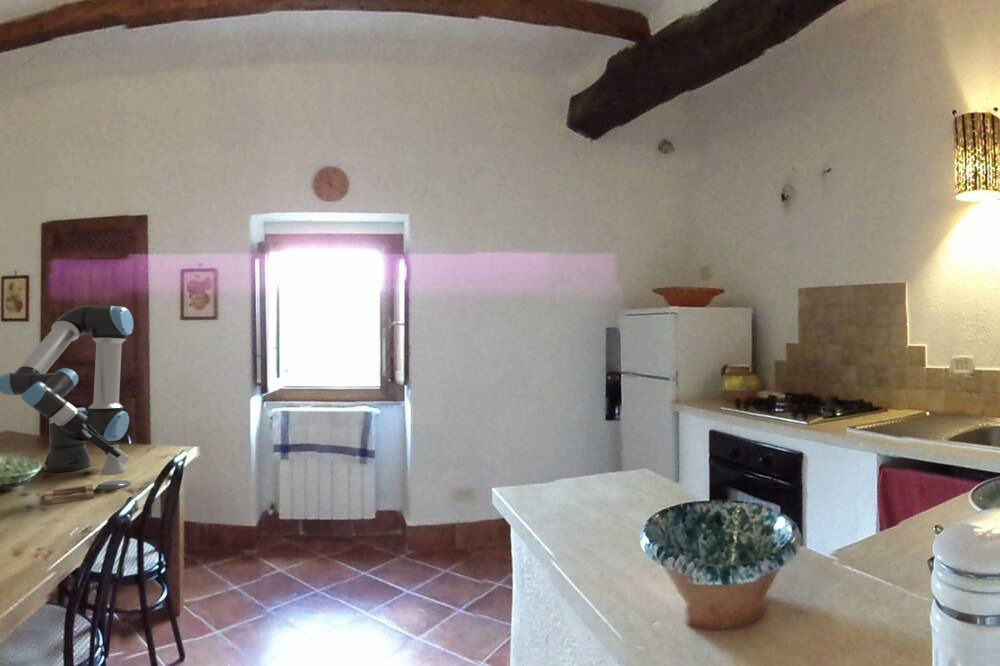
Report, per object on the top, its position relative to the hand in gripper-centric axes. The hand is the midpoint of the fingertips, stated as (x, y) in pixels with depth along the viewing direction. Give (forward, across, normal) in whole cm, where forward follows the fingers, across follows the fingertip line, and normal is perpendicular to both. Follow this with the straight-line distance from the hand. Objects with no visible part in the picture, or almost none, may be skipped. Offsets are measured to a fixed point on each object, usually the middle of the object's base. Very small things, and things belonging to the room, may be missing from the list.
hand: (125, 460), depth 213 cm
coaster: (+4, 0, -9) cm, 9 cm away
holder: (-5, +6, -18) cm, 20 cm away
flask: (0, 0, -6) cm, 6 cm away
